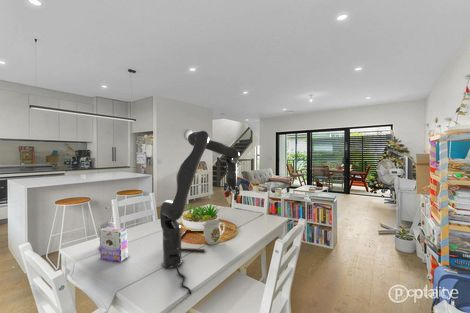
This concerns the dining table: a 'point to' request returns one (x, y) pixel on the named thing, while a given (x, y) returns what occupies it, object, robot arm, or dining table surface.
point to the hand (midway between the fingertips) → (231, 198)
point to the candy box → (113, 244)
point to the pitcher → (212, 231)
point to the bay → (191, 248)
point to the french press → (107, 224)
